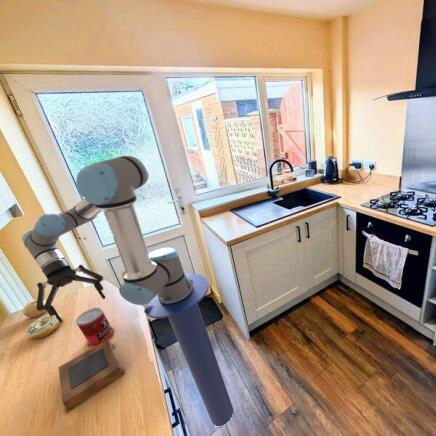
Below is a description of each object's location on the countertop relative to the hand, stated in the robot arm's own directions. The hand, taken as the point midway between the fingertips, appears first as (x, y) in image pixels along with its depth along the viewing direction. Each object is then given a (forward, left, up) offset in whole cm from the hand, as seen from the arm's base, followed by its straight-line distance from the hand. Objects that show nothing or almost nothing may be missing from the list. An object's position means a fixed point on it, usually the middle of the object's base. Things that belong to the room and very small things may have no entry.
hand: (83, 309), depth 92 cm
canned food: (-1, +6, -11) cm, 13 cm away
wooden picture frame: (+4, +22, -11) cm, 25 cm away
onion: (+16, -34, -11) cm, 39 cm away
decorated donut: (+14, -18, -11) cm, 26 cm away
